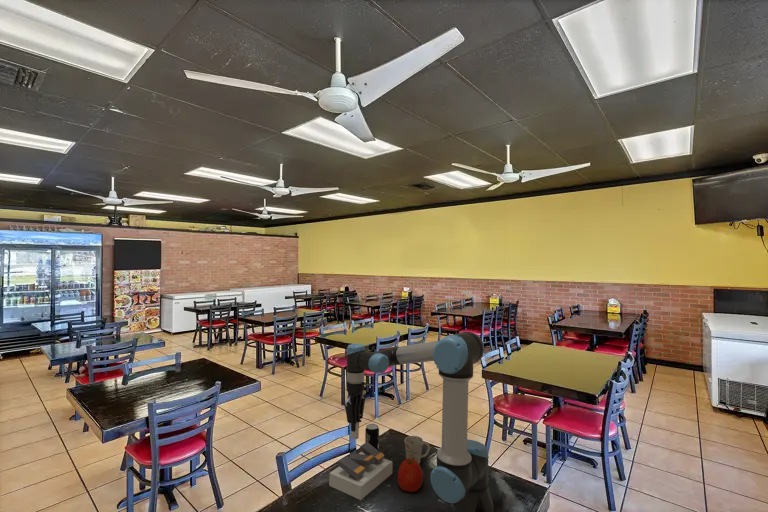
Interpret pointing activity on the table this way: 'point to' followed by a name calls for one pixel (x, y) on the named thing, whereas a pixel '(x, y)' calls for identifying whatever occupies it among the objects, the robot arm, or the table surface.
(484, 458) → the robot arm
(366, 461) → the rocker mid
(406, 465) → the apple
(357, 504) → the table surface
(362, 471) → the rocker left
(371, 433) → the beverage can
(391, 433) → the table surface
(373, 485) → the switch unit
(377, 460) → the rocker right
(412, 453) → the mug
